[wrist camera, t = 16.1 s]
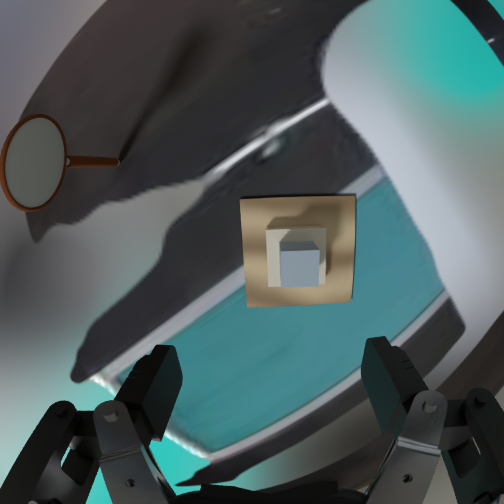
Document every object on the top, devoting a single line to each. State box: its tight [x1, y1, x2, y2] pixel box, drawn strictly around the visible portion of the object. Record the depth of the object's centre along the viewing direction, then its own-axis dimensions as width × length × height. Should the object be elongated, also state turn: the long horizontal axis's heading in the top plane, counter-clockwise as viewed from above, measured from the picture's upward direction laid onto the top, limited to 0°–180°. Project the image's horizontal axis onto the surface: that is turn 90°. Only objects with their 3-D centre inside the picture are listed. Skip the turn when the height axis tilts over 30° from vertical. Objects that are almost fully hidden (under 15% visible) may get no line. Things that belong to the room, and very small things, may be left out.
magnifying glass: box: [0, 114, 120, 212], centre depth 22 cm, size 9×2×20 cm, turn 173°
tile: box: [266, 226, 326, 287], centre depth 32 cm, size 7×2×7 cm
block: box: [279, 241, 320, 288], centre depth 30 cm, size 4×4×4 cm
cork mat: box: [240, 196, 355, 307], centre depth 33 cm, size 14×14×1 cm
